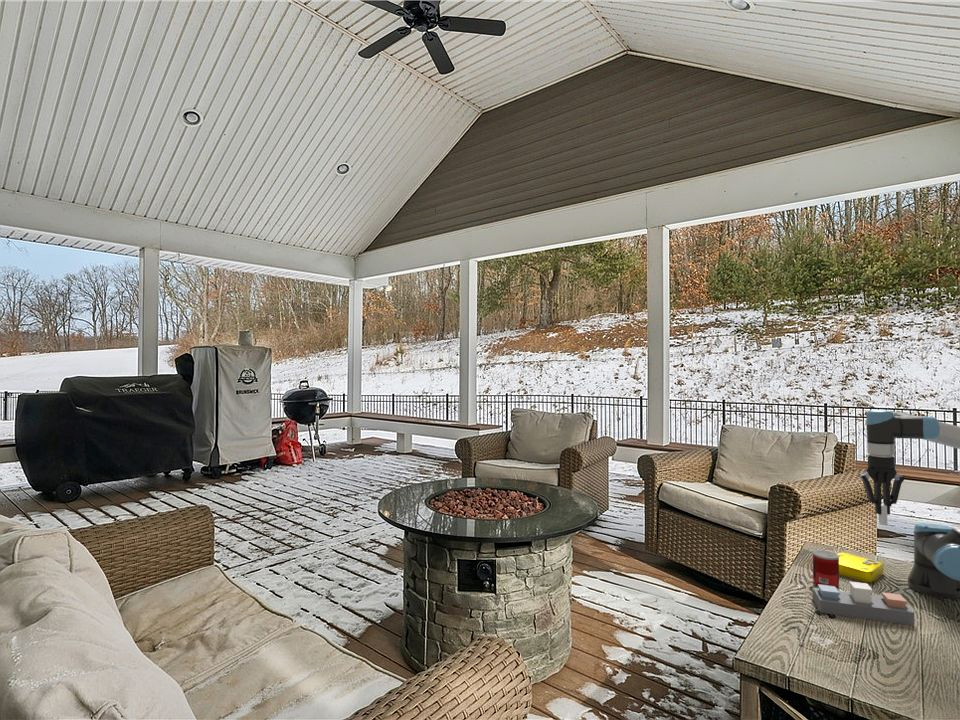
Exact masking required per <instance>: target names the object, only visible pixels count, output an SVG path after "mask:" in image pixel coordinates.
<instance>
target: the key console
mask: <svg viewBox="0 0 960 720" xmlns="http://www.w3.org/2000/svg"><path fill="white" fill-rule="evenodd" d="M838 591H839V593H840V595H839V600H835V599H828V598H821V597H820V595H819V588H818V587H812V601H813V602H814V604H815V606H816V608H817V609H818V611H819V613H821V614H827V615H835V616H842V617H843V616H844V617H850V618H856V619H865V620H871V621H880V622H885V623H886V622H887V623H893V624H902V625H907V626H915V612H914V611H913V609H912V608H910V607H909V605H907V604H908V603H907V604H906V609H905V608H897V607H889V606H886V604H885V603H884V602H883V595H876V594H871V604H866V603H859V602H854V601H853V600H852V598H851V597H850V591H844V590H843V591H842V590H838Z"/></svg>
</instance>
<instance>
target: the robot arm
mask: <svg viewBox="0 0 960 720" xmlns="http://www.w3.org/2000/svg"><path fill="white" fill-rule="evenodd" d="M865 421H866V422H865V424H866V439H867V440H866V445H867V446H866V448H867V454H868V455H867V469H866V471H865V472H864V473H863V474H862V473H860V474H859V475H858V477H859V478H860V479H861V481H862V483H863V486H864V490H865V493H866V496H867V500H868V501H869V502H870V503H872V504H874V506H875V508H874V509H875V514H877V515H878V523H879V524H880V525H882V526H888V516H890V515H891V507H892V505H896V504H897V502H898V498H899V495H900V491H901V488H902V487H901V486H902V484H903V483H904V481H905V480H906V478H905V476H902V475H901V474H899V473H898V472H897V470H896V458H895V455H896V454H895V453H896V451H895V439H911V440H912V439H914V440H917V439H918V440H925V441H928V442H932V443H936V444H939V445H943V446H947V447H950V448H954V449H957V450H960V426H959V425H954V424H951V423H946V422H942V421H938V419H937V417H935V416H926V415H924V416H921V415H920V416H918V415H914V414H911V413H907V412H904V411H892V410H887V409H870V410H868V411H867V412H866V419H865ZM870 478H871V480H872V482H873V488H872V485H871V482H870V480H869V479H870ZM893 479H894V480H893ZM892 481H893V483H892V484H891V482H892ZM891 485H892V488H891ZM907 586H908V587H909V588H910V589H912V590H914V591H916V592H918V593H921V594H924V595H927V596H931V597H933V598H940V599H943V600H944V599H945V600H960V528H958V527H957V528H956V527H952V526H948V525H943V524H936V523H926V522H925V523H923V522H919V523H916V524H915V525H914V531H913V566H912V568H911V570H910V572H909V574H908V577H907Z"/></svg>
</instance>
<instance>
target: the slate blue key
mask: <svg viewBox="0 0 960 720" xmlns="http://www.w3.org/2000/svg"><path fill="white" fill-rule="evenodd" d="M817 588H819V595H820V597H821V598H828V599H835V600H839V595H840V593H839V591H840V590H838V587H837V588H836V587H835V586H828V585H820V584H818V585H817Z"/></svg>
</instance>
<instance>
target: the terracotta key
mask: <svg viewBox="0 0 960 720" xmlns="http://www.w3.org/2000/svg"><path fill="white" fill-rule="evenodd" d="M881 596H883V602H884V603H885V604H886V606H889V607H897V608H905V609H906V604H908V601H907V600H906V599H905V598H904V597H903V595H902V594H900V593H899V594H898V593H890V592H883V591H881Z"/></svg>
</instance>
